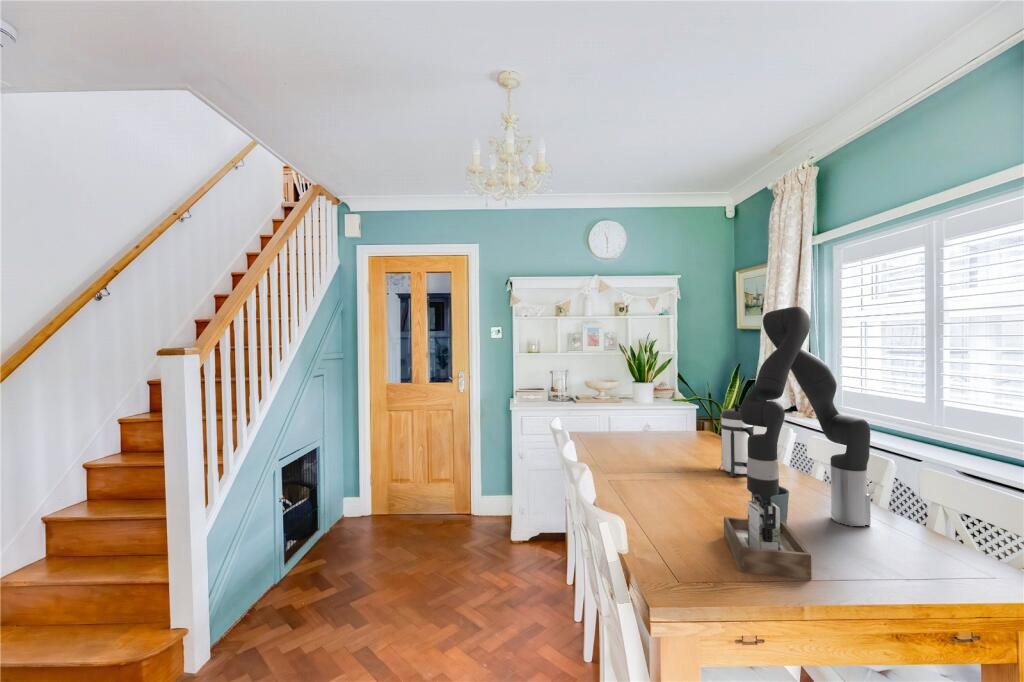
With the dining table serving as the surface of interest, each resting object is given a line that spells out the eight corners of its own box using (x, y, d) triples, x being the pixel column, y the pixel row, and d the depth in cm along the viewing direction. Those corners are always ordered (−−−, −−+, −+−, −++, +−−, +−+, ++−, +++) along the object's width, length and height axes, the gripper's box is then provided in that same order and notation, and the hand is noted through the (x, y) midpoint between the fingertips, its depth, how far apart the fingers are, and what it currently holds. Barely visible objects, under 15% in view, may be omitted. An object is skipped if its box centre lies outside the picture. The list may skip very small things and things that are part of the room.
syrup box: (768, 551, 124) (767, 498, 124) (781, 561, 118) (780, 506, 118) (747, 551, 124) (746, 499, 124) (759, 562, 118) (758, 507, 118)
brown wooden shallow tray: (784, 542, 129) (784, 521, 129) (811, 579, 110) (811, 555, 109) (723, 537, 133) (723, 516, 133) (739, 571, 114) (739, 548, 114)
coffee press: (711, 474, 191) (710, 404, 191) (727, 466, 202) (726, 399, 202) (755, 483, 178) (754, 408, 178) (769, 474, 189) (768, 403, 189)
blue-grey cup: (789, 524, 141) (788, 486, 140) (789, 537, 132) (789, 496, 132) (752, 518, 146) (752, 481, 146) (750, 530, 137) (750, 491, 137)
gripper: (787, 484, 113) (788, 549, 113) (770, 467, 127) (770, 525, 127) (754, 482, 115) (755, 546, 115) (741, 465, 129) (741, 523, 129)
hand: (763, 535), depth 121 cm, fingers open, 7 cm apart
